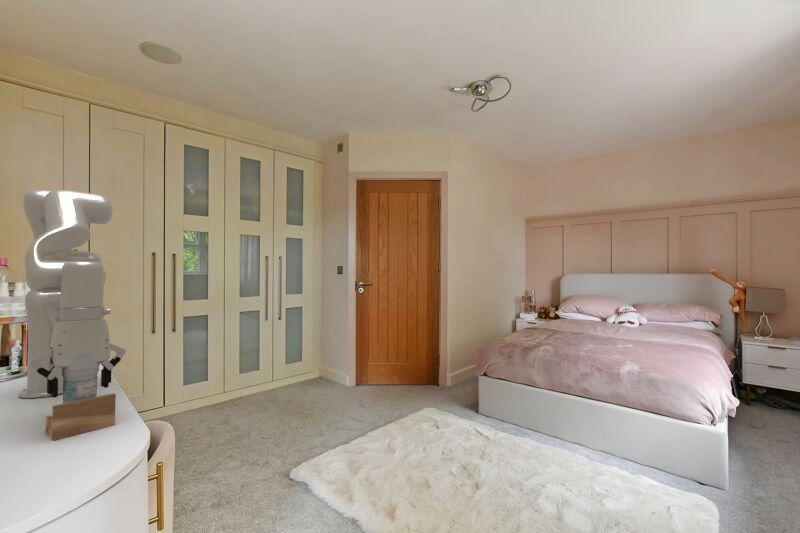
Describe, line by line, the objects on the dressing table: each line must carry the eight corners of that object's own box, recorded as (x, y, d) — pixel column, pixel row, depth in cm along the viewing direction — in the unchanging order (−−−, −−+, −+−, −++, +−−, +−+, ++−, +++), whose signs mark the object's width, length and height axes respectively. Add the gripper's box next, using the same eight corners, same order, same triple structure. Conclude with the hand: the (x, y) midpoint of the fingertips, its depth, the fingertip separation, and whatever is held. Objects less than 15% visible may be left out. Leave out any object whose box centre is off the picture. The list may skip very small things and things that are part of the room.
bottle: (75, 433, 80) (78, 341, 81) (51, 431, 82) (53, 340, 82) (105, 422, 87) (107, 336, 88) (82, 420, 88) (85, 335, 89)
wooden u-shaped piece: (45, 431, 81) (46, 399, 82) (104, 417, 90) (105, 388, 90) (52, 440, 77) (53, 406, 77) (114, 424, 85) (115, 394, 85)
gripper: (122, 311, 94) (120, 380, 93) (26, 317, 80) (23, 398, 80) (132, 313, 89) (131, 385, 89) (32, 319, 76) (29, 405, 75)
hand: (80, 391), depth 84 cm, fingers open, 8 cm apart
